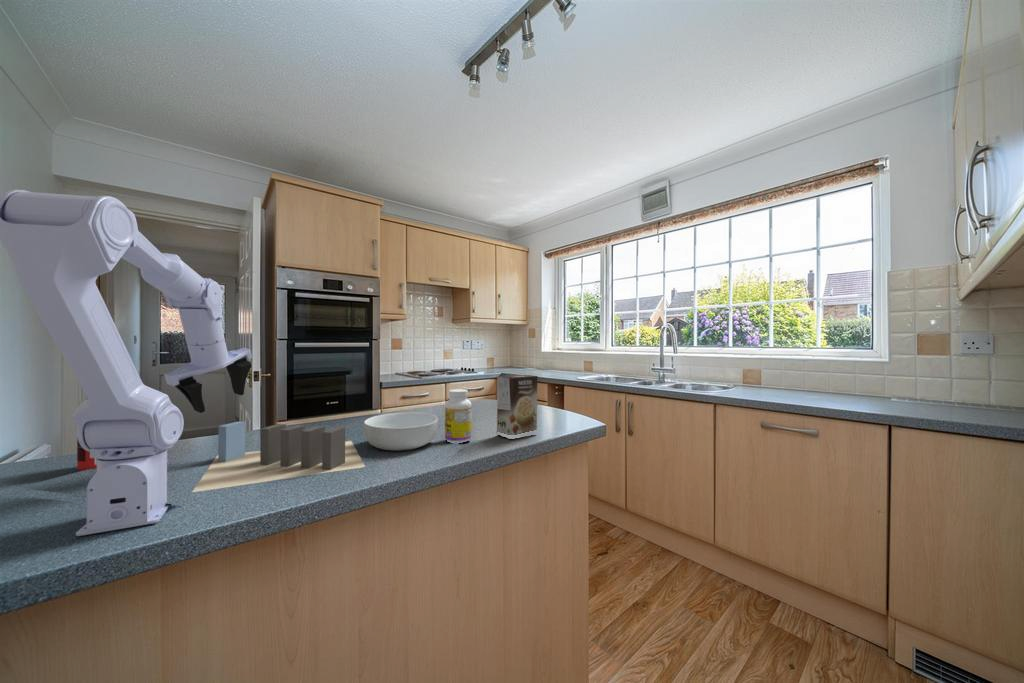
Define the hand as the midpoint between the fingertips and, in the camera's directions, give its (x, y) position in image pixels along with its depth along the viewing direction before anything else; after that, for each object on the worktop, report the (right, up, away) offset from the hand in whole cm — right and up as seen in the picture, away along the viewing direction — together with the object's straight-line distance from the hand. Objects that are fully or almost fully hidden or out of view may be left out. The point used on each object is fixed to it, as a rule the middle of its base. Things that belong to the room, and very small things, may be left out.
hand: (220, 401), depth 78 cm
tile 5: (+25, -12, -4) cm, 28 cm away
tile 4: (+21, -12, -3) cm, 24 cm away
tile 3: (+16, -12, -2) cm, 20 cm away
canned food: (-20, -13, -2) cm, 24 cm away
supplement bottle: (+46, -13, +19) cm, 51 cm away
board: (+14, -13, -1) cm, 19 cm away
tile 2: (+12, -12, -1) cm, 17 cm away
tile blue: (+2, -12, +1) cm, 12 cm away
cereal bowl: (+34, -13, +12) cm, 38 cm away
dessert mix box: (+61, -13, +25) cm, 67 cm away
